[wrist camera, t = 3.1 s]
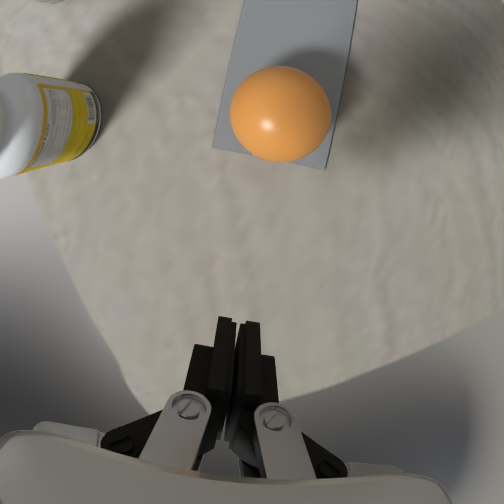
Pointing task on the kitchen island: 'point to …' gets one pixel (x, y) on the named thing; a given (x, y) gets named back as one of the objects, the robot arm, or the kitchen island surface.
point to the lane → (289, 56)
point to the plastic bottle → (49, 1)
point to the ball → (280, 114)
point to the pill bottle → (44, 121)
